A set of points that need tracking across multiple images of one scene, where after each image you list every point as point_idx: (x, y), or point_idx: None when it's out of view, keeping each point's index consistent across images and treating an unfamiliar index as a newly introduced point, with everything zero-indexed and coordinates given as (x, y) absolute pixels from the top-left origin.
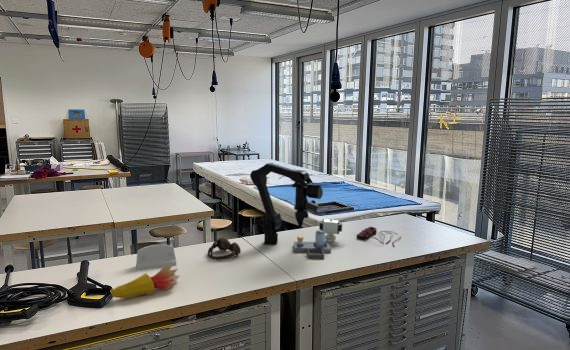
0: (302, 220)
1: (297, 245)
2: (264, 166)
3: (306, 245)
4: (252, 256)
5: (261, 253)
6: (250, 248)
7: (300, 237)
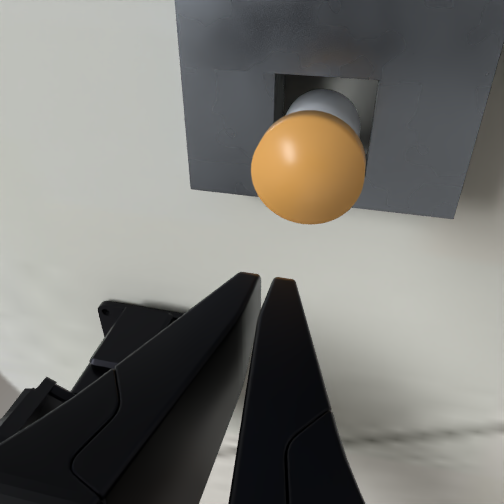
0: (344, 484)
1: None
2: None
3: (358, 28)
4: (484, 492)
5: (427, 440)
6: None
7: (307, 171)
